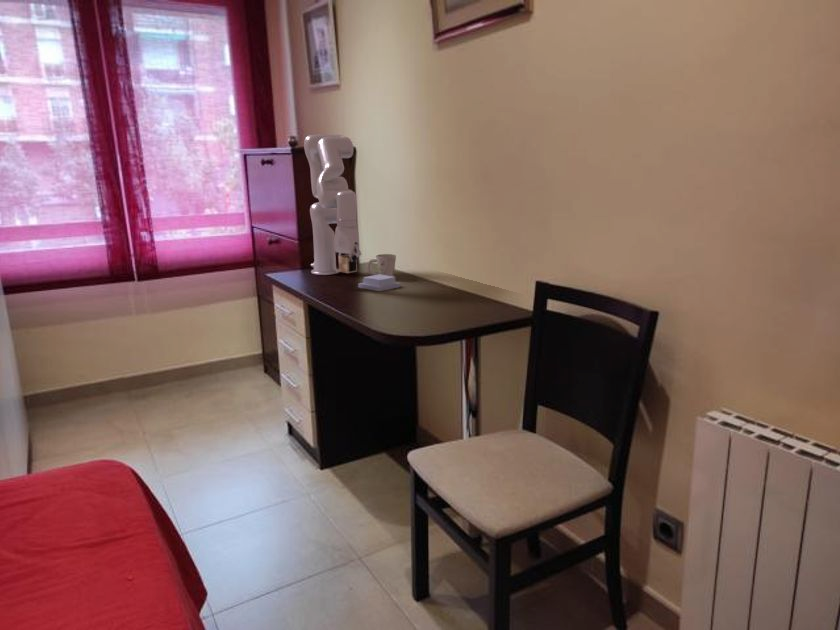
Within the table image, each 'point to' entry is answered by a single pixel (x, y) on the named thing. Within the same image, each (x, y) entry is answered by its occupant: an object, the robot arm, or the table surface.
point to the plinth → (379, 282)
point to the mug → (384, 264)
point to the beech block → (345, 264)
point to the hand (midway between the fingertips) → (347, 269)
